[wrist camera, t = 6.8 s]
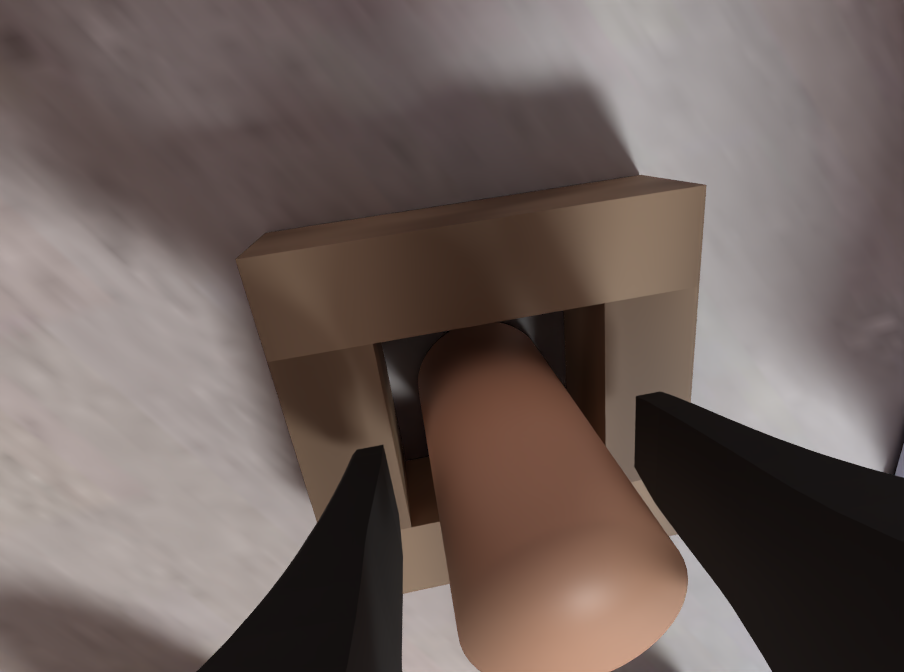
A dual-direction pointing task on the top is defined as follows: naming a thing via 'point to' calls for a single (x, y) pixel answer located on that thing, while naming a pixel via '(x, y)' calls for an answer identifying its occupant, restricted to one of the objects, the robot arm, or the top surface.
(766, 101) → the top surface
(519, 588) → the peg
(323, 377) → the socket
